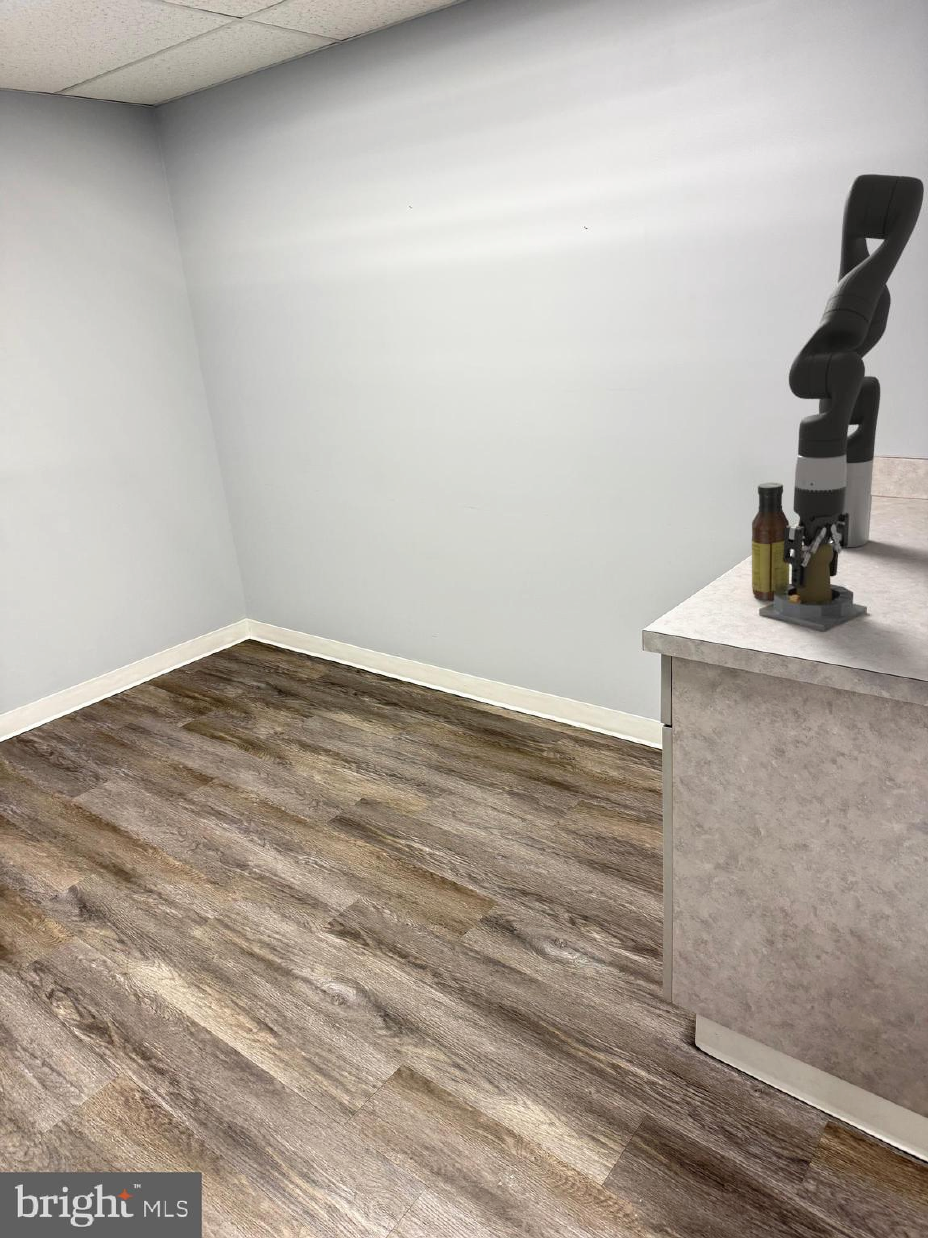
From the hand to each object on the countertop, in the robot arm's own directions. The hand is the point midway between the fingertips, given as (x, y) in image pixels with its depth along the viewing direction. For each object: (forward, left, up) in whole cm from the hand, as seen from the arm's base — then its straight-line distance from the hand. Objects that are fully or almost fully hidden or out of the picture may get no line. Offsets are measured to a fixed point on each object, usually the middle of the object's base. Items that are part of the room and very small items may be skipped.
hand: (814, 581), depth 147 cm
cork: (0, 0, -5) cm, 5 cm away
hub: (0, 0, -6) cm, 6 cm away
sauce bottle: (-3, -11, -6) cm, 12 cm away
